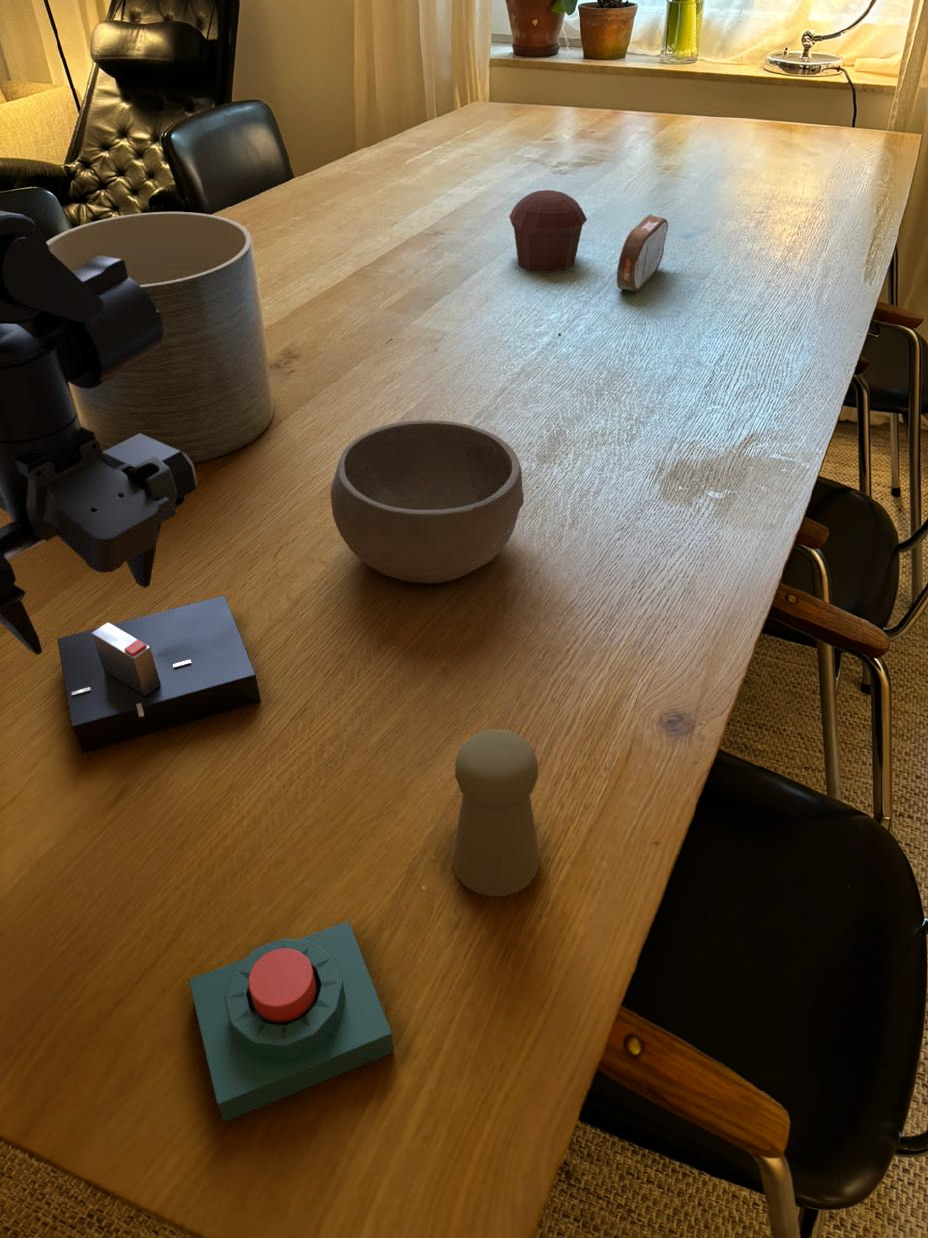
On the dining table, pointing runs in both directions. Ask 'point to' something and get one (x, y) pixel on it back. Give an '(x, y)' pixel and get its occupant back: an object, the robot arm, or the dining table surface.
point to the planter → (182, 334)
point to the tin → (641, 253)
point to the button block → (289, 1025)
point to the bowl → (427, 498)
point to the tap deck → (160, 675)
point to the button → (282, 985)
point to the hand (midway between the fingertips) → (91, 617)
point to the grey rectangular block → (126, 659)
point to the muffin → (547, 230)
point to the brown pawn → (496, 814)
